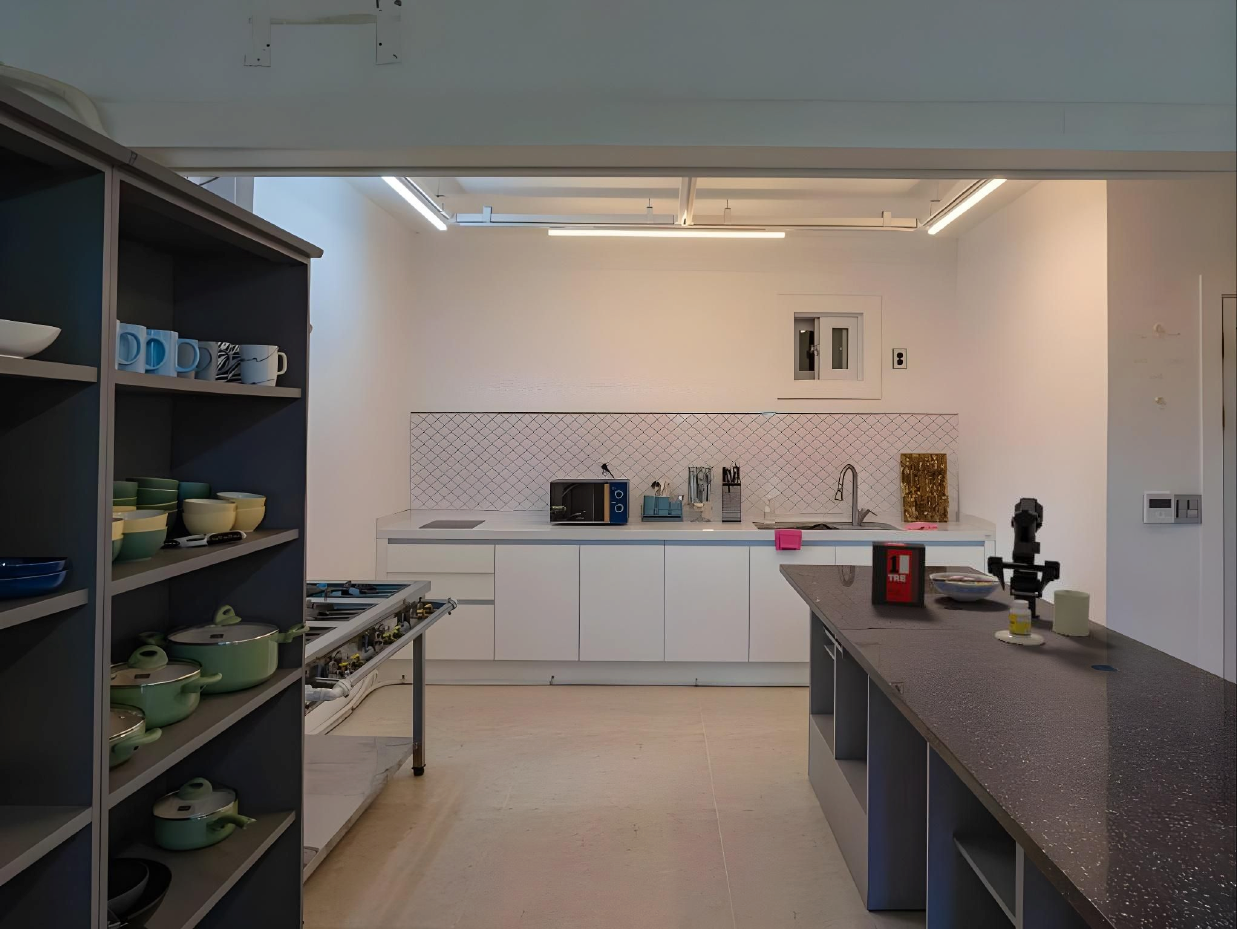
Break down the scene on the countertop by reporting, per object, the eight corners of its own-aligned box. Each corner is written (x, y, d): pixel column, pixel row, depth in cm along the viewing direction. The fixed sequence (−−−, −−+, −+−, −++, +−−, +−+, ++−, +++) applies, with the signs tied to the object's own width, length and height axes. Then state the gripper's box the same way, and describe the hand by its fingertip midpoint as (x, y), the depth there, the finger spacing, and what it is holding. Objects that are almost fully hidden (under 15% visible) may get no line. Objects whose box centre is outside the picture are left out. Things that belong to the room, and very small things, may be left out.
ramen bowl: (989, 593, 280) (990, 571, 280) (1015, 608, 257) (1016, 583, 257) (917, 591, 282) (918, 569, 282) (937, 605, 260) (937, 581, 259)
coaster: (986, 634, 223) (986, 630, 223) (1025, 633, 224) (1025, 630, 224) (1012, 645, 211) (1012, 642, 211) (1053, 644, 212) (1053, 641, 212)
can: (1079, 629, 230) (1080, 588, 229) (1095, 637, 221) (1096, 595, 220) (1046, 628, 231) (1047, 587, 230) (1061, 636, 222) (1062, 594, 221)
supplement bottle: (1007, 632, 221) (1008, 598, 221) (1029, 634, 219) (1030, 599, 219) (1010, 637, 216) (1011, 602, 216) (1032, 639, 214) (1033, 603, 214)
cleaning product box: (922, 601, 266) (923, 543, 265) (924, 607, 257) (925, 547, 256) (871, 598, 270) (872, 541, 270) (871, 603, 262) (872, 544, 261)
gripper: (988, 528, 231) (984, 571, 222) (1060, 533, 221) (1059, 578, 212) (990, 551, 238) (986, 594, 229) (1060, 557, 229) (1058, 601, 220)
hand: (1021, 591), depth 222 cm, fingers open, 9 cm apart
